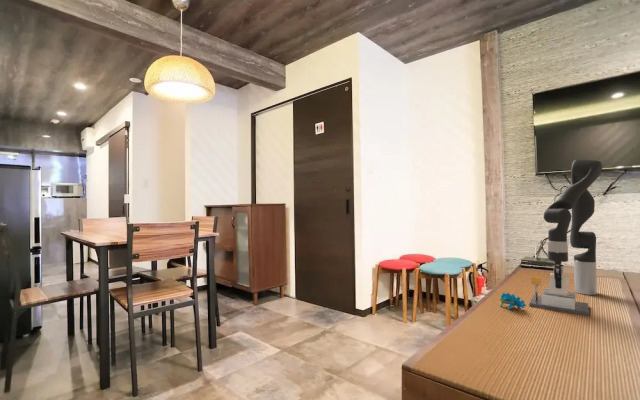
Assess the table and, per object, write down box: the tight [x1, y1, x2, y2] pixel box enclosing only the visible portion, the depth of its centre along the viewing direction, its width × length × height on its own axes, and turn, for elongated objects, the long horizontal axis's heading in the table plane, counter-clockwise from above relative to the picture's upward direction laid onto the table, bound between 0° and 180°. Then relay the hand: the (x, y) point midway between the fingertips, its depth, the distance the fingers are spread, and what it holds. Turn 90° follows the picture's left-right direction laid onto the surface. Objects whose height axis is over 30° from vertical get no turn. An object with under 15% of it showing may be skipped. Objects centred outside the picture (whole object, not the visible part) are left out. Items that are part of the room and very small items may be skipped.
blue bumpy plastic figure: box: [499, 292, 527, 311], centre depth 144 cm, size 11×6×10 cm
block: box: [547, 272, 570, 295], centre depth 148 cm, size 2×7×10 cm, turn 50°
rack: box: [528, 276, 590, 317], centre depth 148 cm, size 17×21×12 cm
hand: (558, 287), depth 148 cm, fingers closed on block, 2 cm apart
